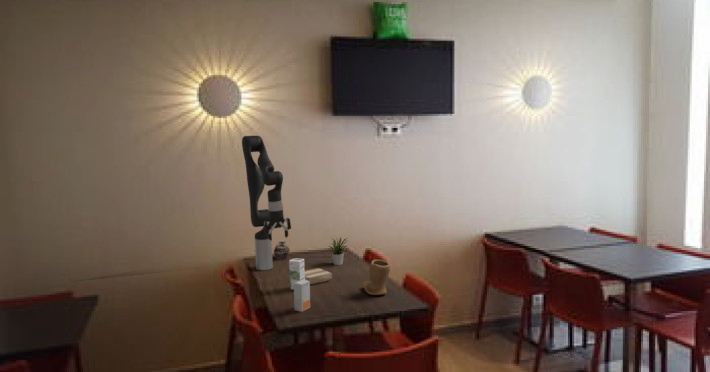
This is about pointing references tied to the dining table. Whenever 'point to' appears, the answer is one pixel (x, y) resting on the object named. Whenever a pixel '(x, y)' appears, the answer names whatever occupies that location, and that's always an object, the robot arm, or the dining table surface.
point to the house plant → (338, 251)
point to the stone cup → (377, 277)
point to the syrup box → (296, 271)
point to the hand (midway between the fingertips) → (278, 238)
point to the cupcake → (281, 251)
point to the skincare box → (302, 295)
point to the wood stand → (317, 276)
